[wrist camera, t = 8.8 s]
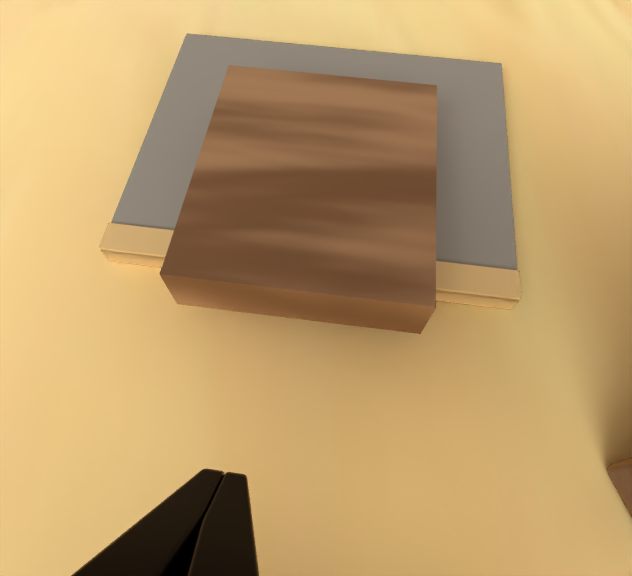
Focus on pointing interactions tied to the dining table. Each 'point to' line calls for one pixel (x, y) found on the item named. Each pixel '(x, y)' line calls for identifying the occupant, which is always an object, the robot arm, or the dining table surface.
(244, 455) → the dining table surface
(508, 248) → the slate floor board
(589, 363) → the dining table surface
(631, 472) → the wooden block
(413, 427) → the dining table surface
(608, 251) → the dining table surface
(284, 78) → the walnut plank
